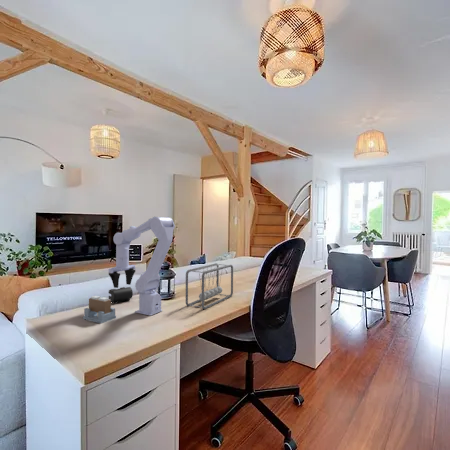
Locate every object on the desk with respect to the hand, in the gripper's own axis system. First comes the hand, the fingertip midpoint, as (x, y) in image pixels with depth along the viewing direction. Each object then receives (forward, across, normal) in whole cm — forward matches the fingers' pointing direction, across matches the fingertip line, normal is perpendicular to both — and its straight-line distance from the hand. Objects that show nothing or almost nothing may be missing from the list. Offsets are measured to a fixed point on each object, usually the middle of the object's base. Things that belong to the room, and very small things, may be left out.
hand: (122, 285), depth 134 cm
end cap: (+10, -6, -8) cm, 14 cm away
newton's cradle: (+10, -29, +32) cm, 45 cm away
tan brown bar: (+7, +16, +5) cm, 19 cm away
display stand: (+10, +16, +5) cm, 20 cm away
